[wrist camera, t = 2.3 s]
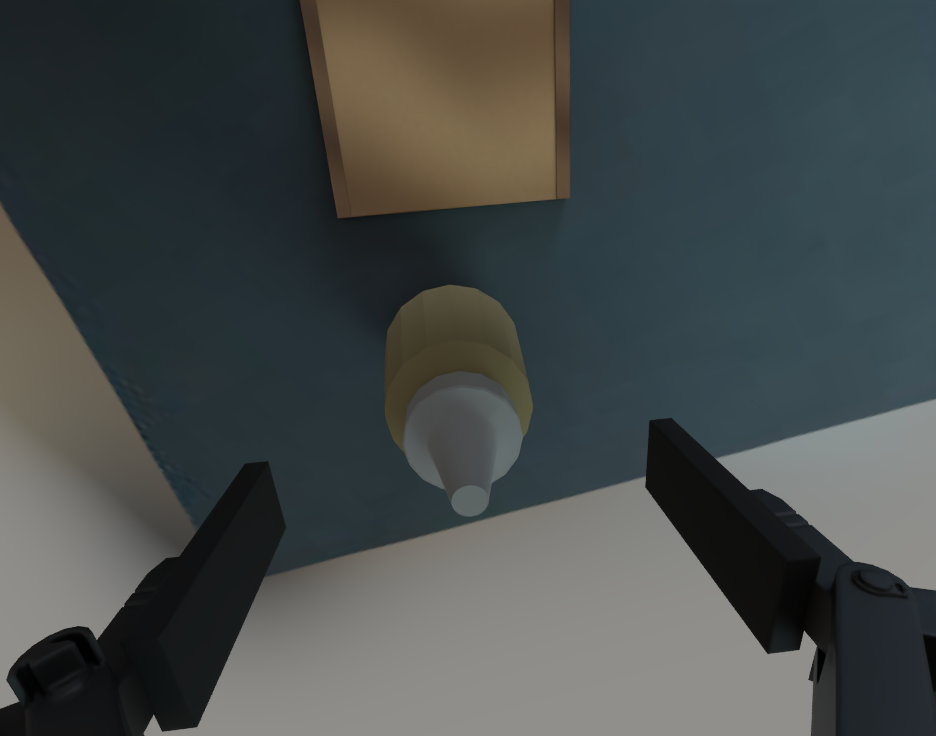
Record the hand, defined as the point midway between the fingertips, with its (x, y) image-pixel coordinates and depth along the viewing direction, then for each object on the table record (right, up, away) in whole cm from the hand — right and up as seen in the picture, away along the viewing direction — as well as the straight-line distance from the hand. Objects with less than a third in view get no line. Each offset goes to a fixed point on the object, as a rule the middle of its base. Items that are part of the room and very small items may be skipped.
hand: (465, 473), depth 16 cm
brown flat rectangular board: (-2, +23, +9) cm, 24 cm away
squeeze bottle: (-1, +6, +15) cm, 16 cm away
